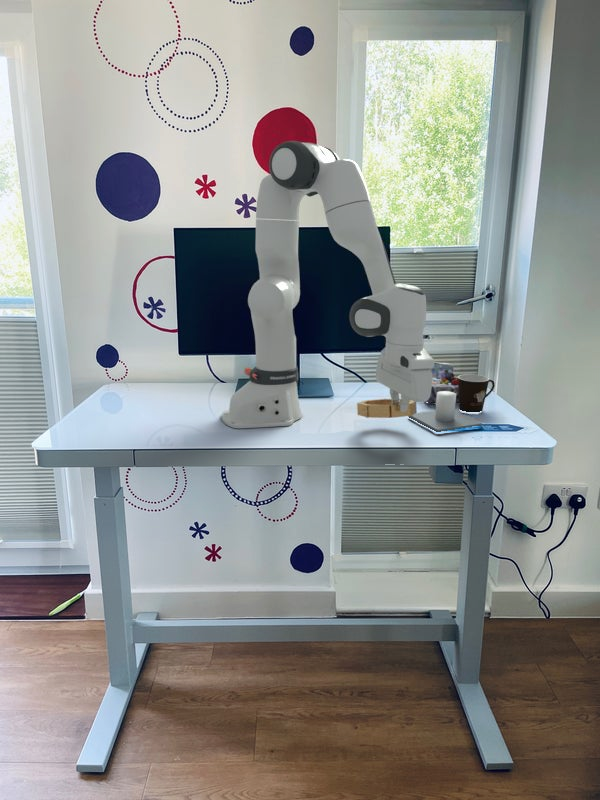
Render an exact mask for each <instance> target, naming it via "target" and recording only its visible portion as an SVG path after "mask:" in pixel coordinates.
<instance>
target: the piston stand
mask: <svg viewBox="0 0 600 800" xmlns="http://www.w3.org/2000/svg"><path fill="white" fill-rule="evenodd" d="M455 403H456V393H454V392H449V391H440V392H437V399H436V404H435V410H430V411H429V410H428V411H421V412H417V413H415V414H414V415H412V416H407V417H409V418H411V419H413V420H415V421H417V422H418V423H420V424H422V425H424V426H426V427H428V428H430V429H432V430H434V431H436V432H441V431H447V430H455V429H461V428H466V427H472V426H481V425H482V426H483V425H484V424H483V423H482V422H481V421H479V420H476V419H474V418H472V417H470V416H468V415H467V414H464V413H461V412H460V411H457V410H456V404H455Z"/></svg>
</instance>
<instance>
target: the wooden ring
mask: <svg viewBox="0 0 600 800" xmlns="http://www.w3.org/2000/svg"><path fill="white" fill-rule="evenodd" d="M399 400H400V401H401V400H402V399H401V398H399ZM356 404H357V405H356V408H357V409H356V410H357V416H361V417H365V418H371V419H373V418H375V419H377V418H381V419H382V418H383V419H389V418H391V419H394V418H402V417H408V416H412V415H414V414H415V413H418V412H417V402H414V401H412V400H411V401H410V402H409V404H408V408H407V411H406V412H401V411H399V410H398V404H393V405H391V404H392V399H391V398H378V399H366V400H362V401H359V402H357V403H356Z"/></svg>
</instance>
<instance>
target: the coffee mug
mask: <svg viewBox="0 0 600 800" xmlns="http://www.w3.org/2000/svg"><path fill="white" fill-rule="evenodd" d="M457 378H458V393H459V403H458V410H459V409H460V410H462V411H466V412H480V411H482V412H483V411H484V410H483V409H484V405H485V400H486V398H487V397H488V396H489V395H491V393H492V392H493V391H494V389H495V386H496V385H495V382H494V380H492V379H490V378H489V377H488V376H484V375H481V374H472V373H468V374H467V373H466V374H459V375H458V376H457ZM489 383H491V384H492V387H491V388H490V390H489V391H488V387H489Z"/></svg>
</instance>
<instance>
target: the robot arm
mask: <svg viewBox="0 0 600 800" xmlns="http://www.w3.org/2000/svg"><path fill="white" fill-rule="evenodd" d="M268 162H269V163H268V166H269V167H268V168H269V173H270V174H268V175H266V176H264V177H263V178H262V179H261V182H260V183H259V187H258V188H259V189H258V195H257V199H256V200H257V201H256V209H255V210H256V212H255V248H254V249H255V254H256V258H257V263H258V271H259V279H257V281H256V282H254V283H253V285H252V286H251V289H250V290H249V293H248V297H247V305H248V307H249V309H250V314H251V315H250V316H251V321H252V326H253V332H254V341H255V361H256V362H255V366H254V367H253V368H250V367H248V366H247V367H245V368H244V370H243V371H244V374H245V375H247V377H249V381H247V383H245V384H244V385H243V386H242V387H240V388H239V389H238V390H237V391H235V392H234V393H233V394H232V395H231V397H230V401H229V407H228V409H227V410H224V411H223V412H222V413H221V421H223V423H224V424H225V425H227V426H228V427H231V428H233V429H250V428H252V429H253V428H254V429H255V428H268V427H269V428H271V427H272V428H273V427H288V426H292V425H293V423H294V422H296V421H297V420H299V419H301V418H302V417H303V413H302V410H301V407H300V399H299V395H298V394H299V393H298V385H299V371H298V370H299V368H298V366H297V336H296V334H295V333H296V332H295V325H294V318H293V317H294V316H293V309H295V308H296V306H297V305H298V303H299V302H300V296H301V289H300V288H301V284H300V283H301V281H300V279H301V278H300V261H299V228H300V226H299V225H300V207H301V202H302V200H303V198H304V197H305V196H307V197H314V196H316V195H319V196H320V199H321V202H322V204H323V205H322V207H323V209H324V214H325V215H324V216H325V218H326V223H327V227H328V229H329V233H330V234H331V237H332V238H333V240H334V241H335V242H336V243H337V244H338V245H339V246H341V247H343V248H345V249H347V250H348V251H350V252H352V254H354V255H355V256H356V257H357V258H358V259H359V260H360V261H361V264H362V265H363V268H364V271H365V274H366V276H367V280H368V284H369V287H370V289H371V293H372V295H369V296H365V297H362V298H360V299H358V300H356V301H355V302H354V303H353V304H352V305H351V308H350V310H349V322H350V326H351V327H352V329H353V331H354V332H355V333H357V334H358V335H360V336H362V337H367V338H369V337H370V338H371V337H377V336H384V337H385V347H384V348H383V349H382V350H381V352H380V355H379V356H378V360H377V363H376V369H375V380H376V382H377V383H379V384H381V385H382V386H384V387H386V388H388V389H389V395H390V399H392V404H391V405H393V404H398V410H399V411H401V412H406V411H407V408H408V404H409V402H410V401H411V400H412V401H414V402H416V403H426V401H428V399H429V398H430V395H431V388H432V372H431V370H430V368H433V367H434V362H435V359H434V358H433V357H432V356H431V355H430V354H429V353H428V352H427V349H426V348H424V344H425V343H424V341H425V340H424V330H425V327H426V324H427V323H426V320H427V299H426V293H425V292H424V290H423V289H421V288H420V287H419V286H416V285H411V284H408V283H407V284H406V283H397V282H396V279H395V276H394V272H393V269H392V265H391V263H390V260H389V257H388V253H387V250H386V247H385V244H384V242H383V240H382V239H383V238H382V237H381V234H380V231H379V228H378V226H377V222H376V218H375V215H374V214H375V213H374V211H373V206H372V201H371V198H370V197H371V196H370V193H369V191H368V188H367V185H366V182H365V179H364V176H363V173H362V172H361V169H360V167H359V165H358V164H357V163H356V162H355V161H354V160H352V159H346V158H339V155H337V154H336V153H335V151H334V150H332V149H330V148H328V147H325V146H321V145H320V144H316V143H313V142H300V141H297V140H289V141H284V142H281V143H280V144H278V145H276V146H275V148H274V149H273V150H272V152H271V154H270V157H269V161H268ZM399 399H402V400H401V401H400V400H399Z"/></svg>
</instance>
